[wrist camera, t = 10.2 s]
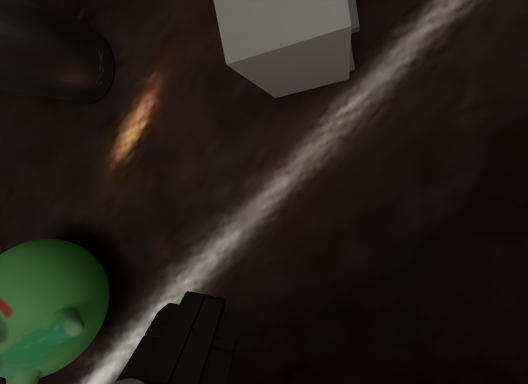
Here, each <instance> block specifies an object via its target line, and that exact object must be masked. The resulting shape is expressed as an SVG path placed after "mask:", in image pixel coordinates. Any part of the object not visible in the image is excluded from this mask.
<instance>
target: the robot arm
mask: <svg viewBox="0 0 528 384" xmlns="http://www.w3.org/2000/svg"><path fill="white" fill-rule="evenodd" d="M113 75H114V63H113V57H112V53H111V50H110V48H109V46H108V44H107V43H106V42H105V40H104V39H103V38H102V37H101V36H100V35H99V34H97V33H95V32H93V31H91V30H89V29H87V28H84V27H82V26H80V25H78V24H76V23H74V22H71V21H69V20H67V19H65V18H63V17H61V16H59V15H56V14H54V13H52V12H50V11H48V10H45V9H43V8H41V7H39V6H37V5H34V4H32V3H30V2H28V1H26V0H0V89H5V90H11V91H17V92H23V93H29V94H34V95H40V96H46V97H52V98H58V99H64V100H70V101H76V102H82V103H92V102H96V101H97V100H99V99H101V98H102V97H103V96H104V95H105V94H106V93H107V91H108V90H109V88H110V85H111V83H112V79H113ZM225 301H226V299H225V298H220V297H215V296H210V295H207V296H206V295H205V294H200V293H195V292H189V291H187V292H186V293H185V295H184V297H183V299H182V301H181V303H180V304H174V303H168V304H167V305H166V306H165V307H163V308H162V309H161V310H159V311H158V313H157V314H156V316H155V318H154V319H153V321H152V323H151V325H150V326H149V328H148V329H147V331H146V333H145V335H144V336H143V338H142V339H141V341H140V343H139V344H138V346H137V348H136V349H135V351H134V353H133V354H132V356H131V358H130V359H129V361H128V363H127V364H126V366H125V368H124V369H123V371H122V373H121V374H120V376H119V377H118V379H117V380H116V381H115V382H114V383H113V384H228V382H229V378H230V373H231V368H232V364H233V359H234V353H235V347H236V341H237V335H238V329H239V327H238V323H237V319H236V315H230V314H225V313H224V309H225Z"/></svg>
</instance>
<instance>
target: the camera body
mask: <svg viewBox="0 0 528 384" xmlns="http://www.w3.org/2000/svg"><path fill="white" fill-rule="evenodd" d="M214 4H215V9H216V15H217V20H218V25H219V30H220V35H221V40H222V45H223V50H224V55H225V60H226V65H228V66H229V67H231V68H232V69H234V70H235V71H237V72H238V73H240V74H241V75H242V76H244V77H245V78H247V79H248V80H250V81H251V82H253V83H254V84H256V85H257V86H259V87H260V88H261V89H263V90H264V91H266V92H267V93H269V94H270V95H272V96H273V97H275V98H278V97H282V96H285V95H289V94H293V93H297V92H301V91H305V90H309V89H313V88H317V87H321V86H324V85H328V84H332V83H336V82H340V81H344V80H348V79H349V72H351V71H355V67H354V60H353V54H352V47H351V34H352V33H355V32H359V21H358V14H357V7H356V0H214Z"/></svg>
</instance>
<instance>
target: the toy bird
mask: <svg viewBox="0 0 528 384" xmlns="http://www.w3.org/2000/svg"><path fill="white" fill-rule="evenodd" d="M109 296H110V291H109V282H108V278H107V275H106V273H105V271H104V269H103V267H102V265H101V264H100V263H99V261H98V260H97V259H96V258H95V257H94V256H93V255H92V254H91V253H90V252H89V251H87V250H86V249H84V248H83V247H81V246H79V245H77V244H74V243H71V242H68V241H64V240H58V239H39V240H33V241H29V242H25V243H22V244H19V245H17V246H15V247H13V248H11V249H9V250H7V251H5V252H4V253H2V254H1V255H0V377H4V378H6V383H7V384H37V382H38V380H39V378H40V377H43V376H46V375H49V374H51V373H54V372H56V371H58V370H60V369H61V368H63V367H65V366H66V365H68V364H69V363H70V362H72V361H73V360H74V359H76V358H77V357H78V356H79V355H80V354H81V353H82V352H83V351H84V350H85V349H86V348H87V347H88V345H89V344H90V343H91V342H92V340H93V339H94V337H95V336H96V334H97V333H98V331H99V329H100V328H101V326H102V323H103V321H104V319H105V316H106V313H107V309H108V305H109Z"/></svg>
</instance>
